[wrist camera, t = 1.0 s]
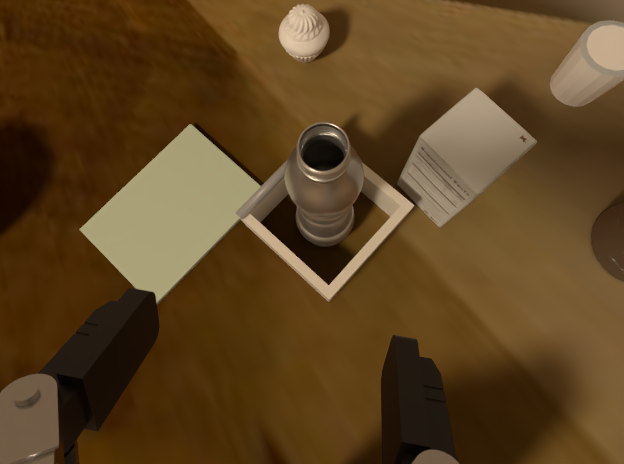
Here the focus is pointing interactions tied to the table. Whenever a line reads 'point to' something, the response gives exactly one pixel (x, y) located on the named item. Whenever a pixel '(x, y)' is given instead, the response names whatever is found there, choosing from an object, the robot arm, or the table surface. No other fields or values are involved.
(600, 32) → the shot glass
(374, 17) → the table surface
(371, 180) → the sleeve
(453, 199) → the supplement box
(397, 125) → the table surface
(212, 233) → the mat
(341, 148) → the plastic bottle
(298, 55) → the muffin
